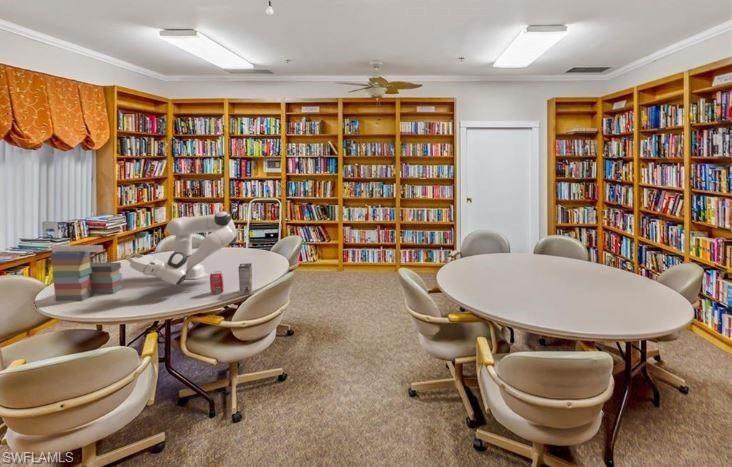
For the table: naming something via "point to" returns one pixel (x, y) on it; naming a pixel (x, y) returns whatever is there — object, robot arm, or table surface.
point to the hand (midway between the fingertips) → (130, 256)
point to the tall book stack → (71, 275)
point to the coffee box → (245, 278)
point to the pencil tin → (78, 248)
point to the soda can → (216, 282)
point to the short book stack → (105, 278)
